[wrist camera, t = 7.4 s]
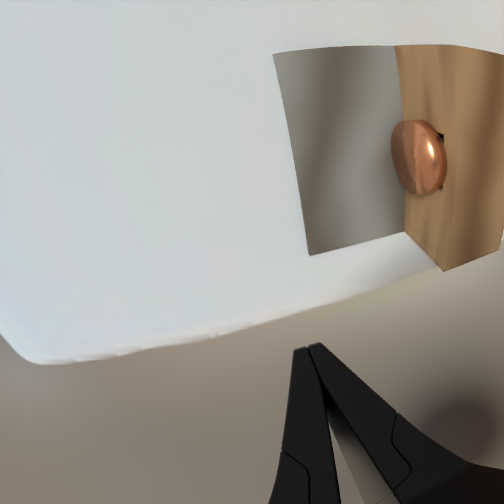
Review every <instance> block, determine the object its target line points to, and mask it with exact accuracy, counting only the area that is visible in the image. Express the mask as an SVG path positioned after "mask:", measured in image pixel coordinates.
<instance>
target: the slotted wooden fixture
mask: <svg viewBox="0 0 504 504" xmlns="http://www.w3.org/2000/svg"><path fill="white" fill-rule="evenodd" d="M273 58H274V62H275V67H276V71H277V76H278V80H279V85H280V90H281V94H282V99H283V104H284V109H285V114H286V119H287V124H288V130H289V135H290V140H291V146H292V151H293V157H294V162H295V168H296V174H297V180H298V186H299V192H300V199H301V205H302V212H303V218H304V225H305V232H306V239H307V247H308V253H309V255H310V256H311V255H315V254H319V253H323V252H327V251H330V250H334V249H338V248H342V247H346V246H350V245H353V244H357V243H361V242H365V241H368V240H372V239H376V238H380V237H383V236H387V235H391V234H394V233H398V232H402V231H405V232H406V233H407V234H408V235H409V236H410V237H411V238H412V239H413V240H414V241H415V242H416V243H417V244H418V245H419V246H420V247H421V248H422V249H423V250H424V251H425V252H426V254H427V255H428V256H429V257H430V258H431V259H432V260H433V261H434V262H435V263H436V264H437V265H438V266H439V267H440V268H441V269H442V271H443V272H444V271H447V270H450V269H452V268H455V267H458V266H460V265H463V264H465V263H468V262H470V261H473V260H475V259H478V258H480V257H483V256H485V255H488V254H490V253H493V252H495V251H497V250H499V246H500V242H501V238H502V233H503V229H504V55H501V54H497V53H493V52H488V51H484V50H479V49H473V48H468V47H462V46H455V45H401V46H344V47H328V48H316V49H306V50H297V51H289V52H282V53H275V54H273ZM417 119H421V120H425V121H427V122H428V123H430V124H431V125H432V126H433V127H434V128H435V130H436V131H437V133H441V134H444V148H445V152H446V158H447V173H446V178H445V181H444V183H443V185H442V186H441V188H440V189H438V190H437V191H434V192H430V193H425V194H421V195H414V194H412V193H410V192H409V191H408V190H407V189H406V188H405V187H404V186H403V184H402V183H401V181H400V179H399V177H398V175H397V173H396V170H395V167H394V164H393V160H392V154H391V136H392V132H393V129H394V127H395V126H396V124H397V123H398V122H400V121H405V120H417Z"/></svg>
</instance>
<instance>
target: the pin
mask: <svg viewBox="0 0 504 504" xmlns="http://www.w3.org/2000/svg"><path fill="white" fill-rule="evenodd" d="M391 154H392V160H393V164H394V167H395V170H396V173H397V175H398V177H399V179H400V181H401V183H402V184H403V186H404V187H405V188H406V189H407V190H408V191H409V192H410V193H412V194H414V195H421V194H425V193H430V192H434V191H437V190H438V189H440V188H441V186H442V185H443V183H444V181H445V178H446V173H447V158H446V152H445V148H444V134H441V133H437V131H436V130H435V128H434V127H433V126H432V125H431V124H430V123H428V122H427V121H425V120H421V119H417V120H405V121H400V122H398V123H397V124H396V126H395V127H394V129H393V132H392V136H391Z"/></svg>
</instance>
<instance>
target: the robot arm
mask: <svg viewBox="0 0 504 504" xmlns="http://www.w3.org/2000/svg"><path fill="white" fill-rule="evenodd" d="M328 422H329V424H330V427H331V429H332V431H333V433H334V436H335V438H336V440H337V442H338V444H339V446H340V449H341V451H342V453H343V456H344V458H345V460H346V462H347V465H348V467H349V469H350V471H351V473H352V476H353V478H354V480H355V482H356V485H357V487H358V489H359V491H360V494H361V496H362V498H363V500H364V502H365V504H504V470H502V469H497V468H491V467H486V466H481V465H477V464H474V463H471V462H469V461H466V460H464V459H462V458H461V457H459V456H457V455H456V454H454V453H453V452H451V451H450V450H448V449H446V448H445V447H443V446H442V445H440V444H439V443H437V442H435V441H434V440H432V439H431V438H429V437H428V436H427V435H425V434H424V433H422V432H421V431H419V430H418V429H417V428H416V427H414V426H413V425H412V424H411V423H410V422H408V421H407V420H406V419H405V418H404V417H403V416H401V415H400V414H399V413H397V412H396V410H395V409H393V408H392V407H391V406H390V405H389V404H388V403H387V402H386V401H385V400H383V399H382V398H381V397H380V396H379V395H378V394H377V393H376V392H375V391H373V390H372V389H371V388H370V387H369V386H368V385H367V384H366V383H365V382H363V381H362V380H361V379H360V378H359V377H357V375H356V374H355V373H353V372H352V371H351V370H350V369H349V368H348V367H347V366H346V365H345V364H344V363H343V362H341V361H340V360H339V359H338V358H337V357H336V356H335V355H334V354H333V353H332V352H330V351H329V350H328V349H327V348H326V347H325V346H324V345H323V344H322V343H320V342H318V343H314V344H311V345H308V347H305V346H304V347H300V348H297V349H294V351H293V358H292V368H291V377H290V386H289V395H288V402H287V411H286V418H285V426H284V433H283V440H282V447H281V450H282V451H281V453H280V460H279V465H278V471H277V476H276V480H275V484H274V487H273V491H272V494H271V497H270V500H269V503H268V504H341V498H340V491H339V484H338V478H337V471H336V465H335V459H334V453H333V447H332V441H331V435H330V429H329V424H328Z"/></svg>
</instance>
